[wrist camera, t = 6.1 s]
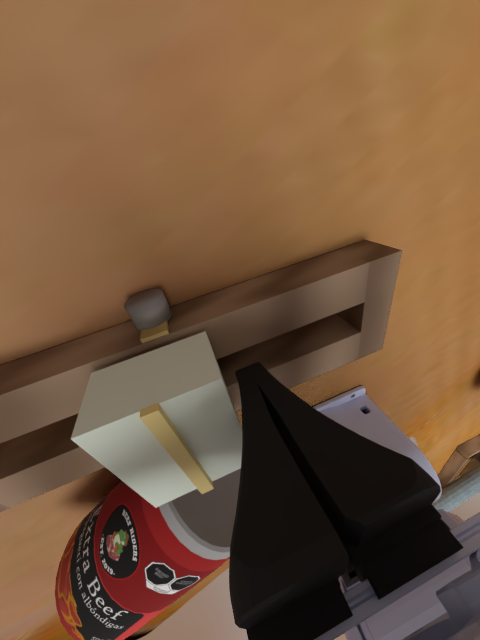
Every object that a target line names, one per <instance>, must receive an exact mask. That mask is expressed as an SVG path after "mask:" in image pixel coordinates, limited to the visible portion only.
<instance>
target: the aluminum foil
mask: <svg viewBox="0 0 480 640" xmlns="http://www.w3.org/2000/svg"><path fill="white" fill-rule="evenodd" d="M478 492H480V464H479V465H477V466H476V467H474V468H473V469H471V470H470V471H468V472H467V473H465V474H464V475H462V476H461V477H459V478H458V479H456V480H455V481H453V482H452V483H450V484H449V485H448V486H446V487H445V488H443V489H442V493H441V497H440V498H439V499H438V500H437V501H436V502H435V503H433V504H432V505H433V506H434V507H435V508H436V510H438V509H443V510H445V511H446V512H449V511H451V510H452V509H454V508H455V507H457V506H459V505H460V504H462V503H463V502H465V501H466V500H468V499H469V498H471V497H472V496H474V495H475V494H477V493H478Z"/></svg>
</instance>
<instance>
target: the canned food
mask: <svg viewBox="0 0 480 640" xmlns="http://www.w3.org/2000/svg"><path fill="white" fill-rule="evenodd" d="M240 472H241V468H240V469H238V470H236V471H234V472H232V473H229V474H227V475H225V476H223V477H221V478H219V479H217V480H214V481H212V482H213V487H214V489H212V490H210V491H208V492H206V493H204V494H201V493H200V491H199V490H198V489H195V490H193V491H191V492H189V493H187V494H184V495H182V496H180V497H178V498H176V499H174V500H172V501H169V502H167V503H165V504H163V505H161V506H159V507H157V508H155V507H154V506H153V505H151V504H150V503H149V502H148V501H147V500H145V499H144V498H143V497H142V496H140V495H139V494H138V493H137V492H135V491H134V490H133V489H132V488H130V487H129V486H128V485H127V484H126V483H124V482H123V481H121V482H120V483H119V484H118V485H117V486H116V487H115V488H114V489H113V490H112V491H111V492H110V493H109V494H108V495H107V496H106V497H105V498H104V499H103V500H102V501H101V502H100V503H99V504H98V505H97V506H96V507H95V508H94V509H93V510H92V511H91V512H90V513H89V514H88V515H87V516H86V517H85V518H84V519H83V520H82V522H81V523H80V524H79V525H78V527H77V528H76V529H75V531H74V533H73V534H72V536H71V538H70V540H69V541H68V544H67V546H66V548H65V551H64V553H63V556H62V558H61V561H60V564H59V568H58V572H57V577H56V587H55V598H56V607H57V611H58V614H59V617H60V620H61V623H62V624H63V626H64V627H65V629H66V630H67V632H68V633H69V634H70V635H71V636H72V637H73V638H75V639H76V640H123V639H125V638H127V637H128V636H130V635H131V634H133V633H134V632H136V631H137V630H138V629H139V628H141V627H142V626H143V625H145V624H146V623H147V622H148V621H150V620H151V619H152V618H154V617H155V616H156V615H158V614H159V613H160V612H161V611H163V610H164V609H165V608H167V607H168V606H169V605H170V604H172V603H173V602H174V601H176V600H177V599H178V598H180V597H181V596H182V595H183V594H185V593H186V592H187V591H189V590H190V589H191V588H193V587H194V586H195V585H196V584H198V583H199V582H200V581H202V580H203V579H204V578H205V577H207V576H208V575H209V574H211V573H212V572H213V571H215V570H216V569H217V568H218V567H220V566H221V565H222V564H223V563H224V562H225V561H227V560H228V559H229V558H230V545H231V538H232V532H233V526H234V520H235V514H236V507H237V499H238V491H239V483H240Z"/></svg>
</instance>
